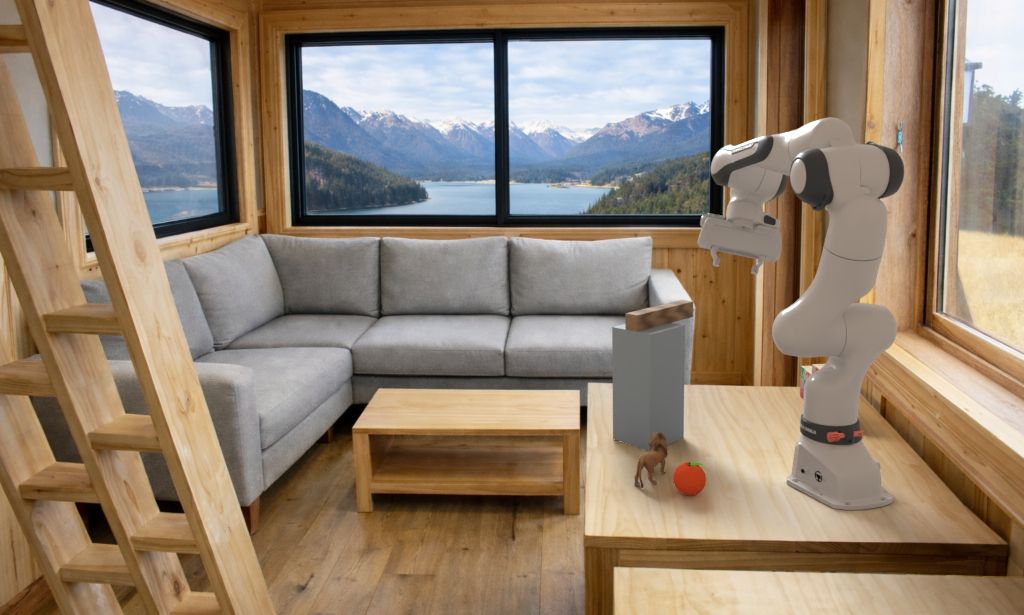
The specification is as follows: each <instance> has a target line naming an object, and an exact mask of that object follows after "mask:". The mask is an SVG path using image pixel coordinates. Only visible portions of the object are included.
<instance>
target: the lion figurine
mask: <svg viewBox="0 0 1024 615" xmlns="http://www.w3.org/2000/svg"><path fill="white" fill-rule="evenodd" d="M647 443H648V444H649V446H650V451H648V452H644V453H643V454H640V456H639V457H638V461H637V466H636V467H637V468H636V473H635V476H634V484H633V485H634V486H640V489H644V483H643V478H642V477H643V476H642V475H643V474H642V473H643V472H642V471H643V469H644V468H645V469H646V471H647V474H648V477H647V478H648V480H649V482H650V484H652V485H656V484H657V481H656V480H655V479H654V478H653V477H654V475H653V474H654V473H655V467H657V466H658V465H660V470H659V472H660V473H659V474H660V475H661V476H662V475H664V476H666V474H667V472H666V471H665V470H666V469H665V468H666V458H667V457H668V454H669V453H668V450H669V448H668V445H667V441H666V437H665V436H664V435H663V434H662V433H661V432H654V433H653V434H652V435H651V437H650V438H649V439H647Z"/></svg>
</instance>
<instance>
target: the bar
mask: <svg viewBox="0 0 1024 615" xmlns="http://www.w3.org/2000/svg"><path fill="white" fill-rule="evenodd" d="M693 317H694V301H691V300H687V299H686V300H684V299H680V300H675V301H673V302H672V301H671V302H667V303H664V304H659V305H654V306H651V307H646V308H641V309H637V310H635V311H630V312H627V313H626V312H625V318H624V319H625V323H624V324H625V330H630V331H635V332H638V331H642V330H646V329H649V328H653V327H657V326H661V325H664V324H668V323H675V322H679V321H683V320H688V319H690V318H693Z"/></svg>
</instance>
